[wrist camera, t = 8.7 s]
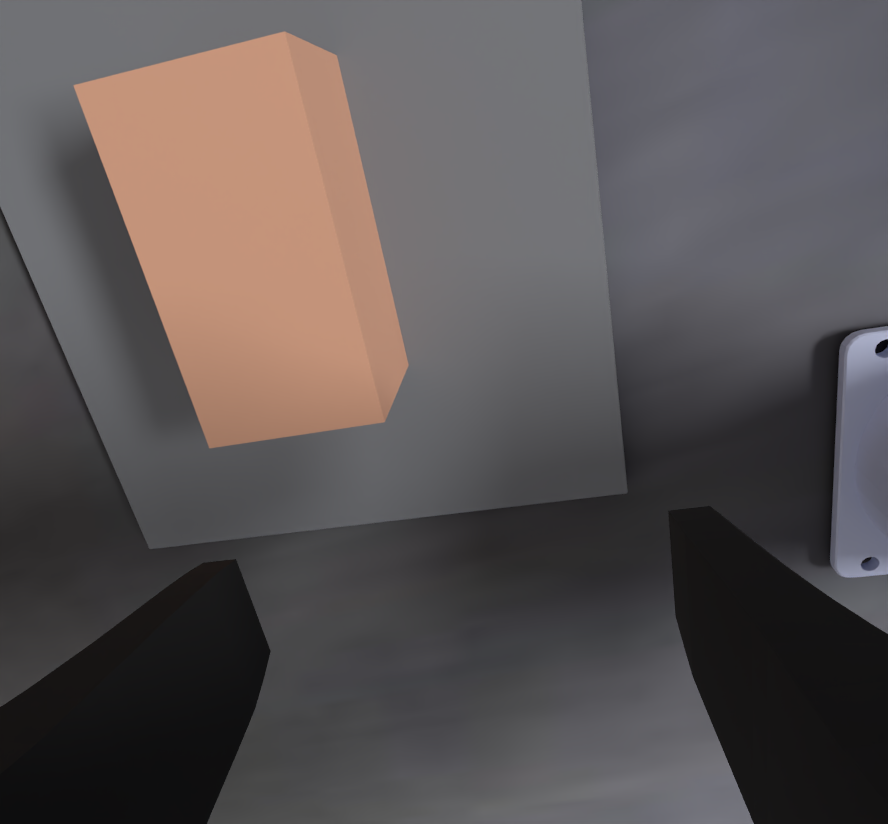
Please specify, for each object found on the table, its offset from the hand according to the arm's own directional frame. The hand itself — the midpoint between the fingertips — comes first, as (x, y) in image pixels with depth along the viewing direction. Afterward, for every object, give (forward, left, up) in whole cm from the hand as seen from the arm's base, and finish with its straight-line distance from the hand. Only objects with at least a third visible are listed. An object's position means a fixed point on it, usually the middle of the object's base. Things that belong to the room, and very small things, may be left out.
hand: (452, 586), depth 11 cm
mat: (+4, -5, -9) cm, 11 cm away
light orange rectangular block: (+4, -5, -9) cm, 11 cm away
